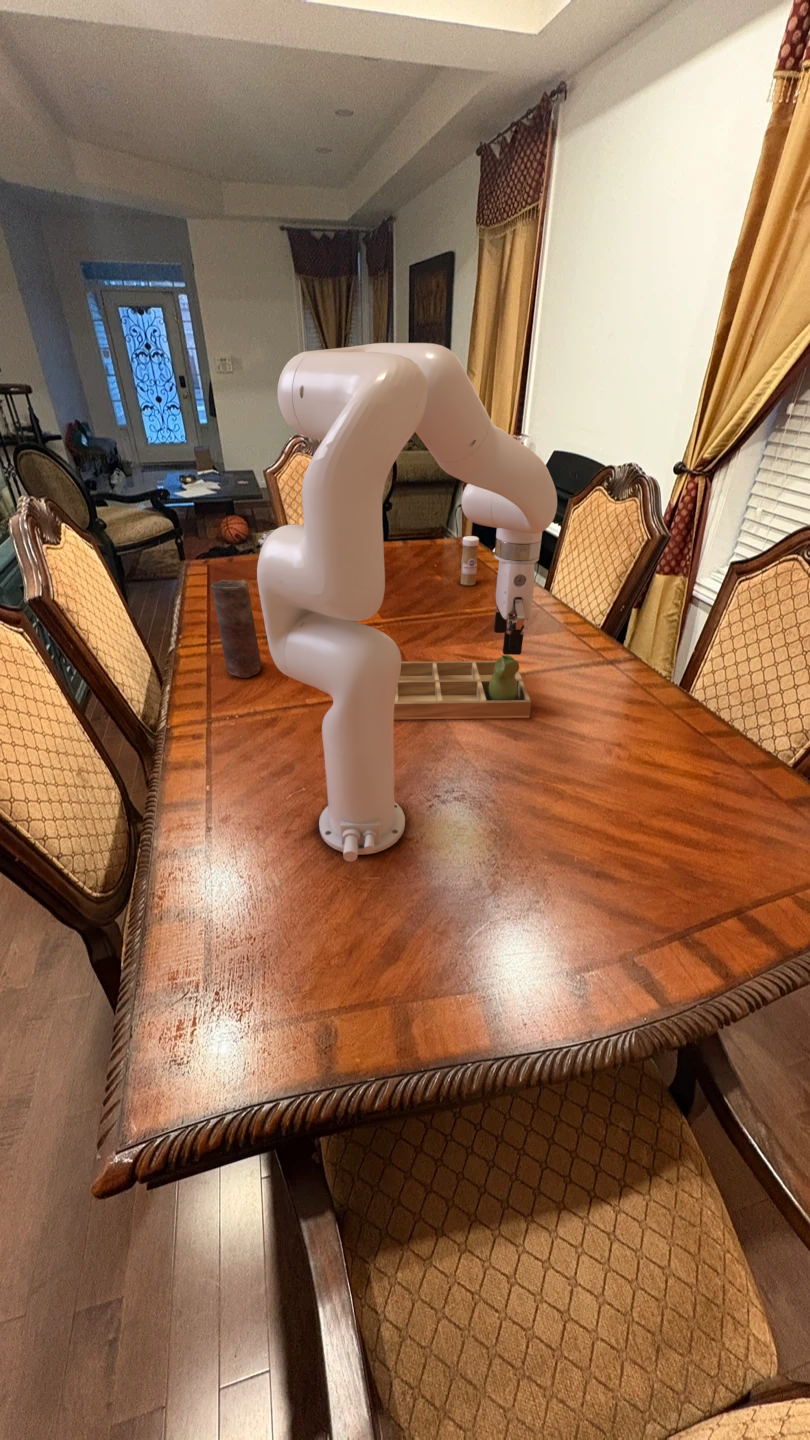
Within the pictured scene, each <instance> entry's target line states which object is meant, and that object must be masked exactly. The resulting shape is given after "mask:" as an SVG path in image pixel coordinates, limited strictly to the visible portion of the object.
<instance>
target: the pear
mask: <svg viewBox="0 0 810 1440" xmlns="http://www.w3.org/2000/svg"><path fill="white" fill-rule="evenodd" d="M496 661H497V662H496V664H495V667H494V674H493V676H492V677H491V680H490V683H489V695H490V698H491V699H492V700H515V699H516V697H517V694H518V688H517V682H516V679H515V674H516V673H517V671H518V670H519V671H520V664H519V661H518V660H516V659H515V658H513V656H512V655H504V654H502V655H501V657H498V660H496Z"/></svg>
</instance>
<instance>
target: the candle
mask: <svg viewBox="0 0 810 1440" xmlns="http://www.w3.org/2000/svg"><path fill="white" fill-rule="evenodd" d="M210 589H211V594H212V599H213V604H214V609H215V615H216V619H217V624H218V631H219V636H220V641H221V642H220V643H221V646H222V652H223V657H224V662H225V667H226V670H227V672H228V673H229V674H230V675H233V676H235V677H238V678H240V679H248V678H250V677H253V676H255V675H258V674H259V673H260V670H262V666H263V665H262V659H261V654H260V653H261V652H260V648H259V642H258V638H257V632H256V626H255V620H254V615H253V614H254V613H253V606H252V601H251V596H250V589H249V584H248V581H247V580H245V579H241V580H240V579H239V580H238V579H235V580H232V579H231V580H230V579H221V580H218V581H215V582H213V583H210Z"/></svg>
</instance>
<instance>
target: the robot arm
mask: <svg viewBox="0 0 810 1440" xmlns="http://www.w3.org/2000/svg"><path fill="white" fill-rule="evenodd" d="M278 379H279V380H278V382H277V391H276V392H277V395H276V396H277V402H278V407H279V410H280V412H281V415H282V417H283V419H284V420H285V422H286V423H287V425H288V426H289V427H290V428H291V429H292V430H293V431H295V433H297V434H298V435H301V436H303V437H305V438H309V439H312V440H313V439H314V440H322V441H321V442H320V444H319V445H318V447H317V449H316V450H315V452H314V454H313V456H312V457H311V459H310V461H309V463H308V465H307V467H306V471H305V473H304V476H303V481H302V487H301V502H302V518H303V524H300V523H299V524H297V523H295V524H294V523H293V524H286V525H282V526H279V527H278V528H276V529H273V530H274V531H273V532H272V533H271V534H270V535H269V536H268V537H267V539H266V540H265V542H264V544H263V546H262V548H261V549H260V551H259V555H258V558H259V559H258V558H257V567H256V580H257V587H258V594H259V599H260V607H261V611H262V618H263V622H264V628H265V634H266V639H267V645H268V648H269V653H270V656H271V659H272V661H273V663H274V665H275V667H276V668H277V669H278V670H279V672H280V673H282V674H283V675H285V676H287V677H289V678H291V679H292V680H295V681H298V682H300V683H302V684H305V685H308V686H309V687H313V688H315V689H317V690H319V691H321V692H323V693H326V694H327V695H329V696H330V697H331V698H332V705H331V706H330V708H329V709H328V710H327V712H326V713H325V714H324V716H323V718H322V725H321V739H322V743H323V746H322V747H323V757H324V759H323V760H324V770H325V781H326V782H325V783H326V794H327V804H328V805H326V807H325V808H323V811H322V812H321V813H320V816H319V822H318V828H319V833H320V836H321V838H322V840H323V841H324V842H325V843H326V844H327V845H328V846H329V847H331V848H332V849H334V850H336V851H338V852H340V853H342V859H343V860H344V861H346V862H351V863H353V862H355V861H356V860H357V859H358V856H360V855H362V856H364V855H372V854H376V853H379V852H382V851H385V850H387V849H388V848H391V847H392V846H394V844H396V843H397V842H398V841H399V839H401V837H402V835H403V834H404V831H405V828H406V816H405V813H404V810H403V809H402V807H401V806H400V805H399V804H398V802H396V801H395V735H394V732H395V731H394V729H395V727H394V723H395V721H394V704H395V696H396V691H397V686H398V681H399V676H400V671H401V662H402V654H401V650H400V648H399V646H398V644H397V643H396V642H395V640H394V639H393V638H392V637H391V636H389V635H388V634H386V633H385V632H383V631H381V630H379V629H378V628H375V627H373V626H370V625H367V624H364V623H361V621H365V620H369V619H370V618H372V617H374V616H375V615H376V614H377V613H378V612H379V610H380V609H381V607H382V605H383V602H384V598H385V589H386V570H385V550H384V549H385V547H384V546H385V545H384V526H383V495H384V490H385V487H386V482H387V479H388V477H389V474H390V472H391V470H392V468H393V466H394V463H395V462H396V461H397V459H398V457H399V455H400V453H401V452H402V450H403V449H404V448H405V446H406V445H407V443H408V442H409V441H410V439H411V438H412V437H413V436H414V433H416V435H417V436H418V438H419V439H420V440H421V441H422V443H423V444H424V445H425V447H426V448H427V450H428V452H430V455H431V456H432V457H433V458H434V460H435V462H436V463H437V464H438V466H439V467H440V468H441V469H442V471H444V472H445V473H446V474H447V475H449V476H452V477H453V478H455V479H457V480H460V481H461V482H464V483H465V484H466V485H465V487H464V489H463V492H462V495H461V502H460V503H461V509H462V512H463V514H464V516H465V517H466V519H468V520H469V521H471V522H472V523H474V524H476V525H479V526H485V527H490V528H495V529H496V532H495V533H496V534H495V542H494V543H495V545H494V556H493V557H494V559H495V560H497V561H498V567H497V577H496V586H495V587H496V588H495V604H496V607H495V608H496V611H495V615H494V626H493V631H494V633H495V634H504V636H503V644H502V645H503V646H502V655H504V656H505V655H508V656H512V655H513V656H517V655H518V656H520V655H521V654H522V649H523V641H524V633H525V624H524V623H525V620H526V621H530V620H531V618H532V612H533V601H534V600H533V599H534V587H535V563H537V562H538V561H539V560H540V552H541V545H542V538H543V537H542V536H543V532H544V531H547V529H548V528H549V527H550V526H551V525H552V524H553V521H554V519H555V517H556V513H557V508H558V495H557V489H556V486H555V484H554V480H553V478H552V476H551V474H550V471H549V469H548V467H547V465H546V464H545V462H544V461H543V460H542V458H541V457H540V456H539V455H537V453H536V452H534V451H532V450H531V449H530V448H529V447H527V446H526V445H525V444H523V443H521V442H520V441H519V440H518V439H516V438H515V437H513V435H511V434H509V433H508V432H506V431H505V430H504V429H502V428H500V427H498V426H497V425H496V424H494V423H493V421H492V420H491V418H490V415H489V413H488V411H487V409H486V408H485V406H484V403H483V402H482V400H481V398H480V396H479V394H478V392H477V390H476V388H475V386H474V385H473V382H472V381H471V378H470V377H469V374H468V373H467V371H466V370H465V367H464V365H463V364H462V362H461V360H460V358H459V357H458V356H457V355H456V354H455V353H454V352H453V350H451V349H449V348H447V347H446V346H444V345H441V344H437V343H431V342H430V343H429V342H376V343H367V344H361V345H354V346H353V345H352V346H346V347H337V348H326V349H317V350H315V349H314V350H307V351H302V352H299V353H297V354H296V355H294V356H293V357H292V358H291V359H289V361H287V363H286V364H285V366H284V367H283V369H282V370H281V373H280V375H279V378H278Z"/></svg>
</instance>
